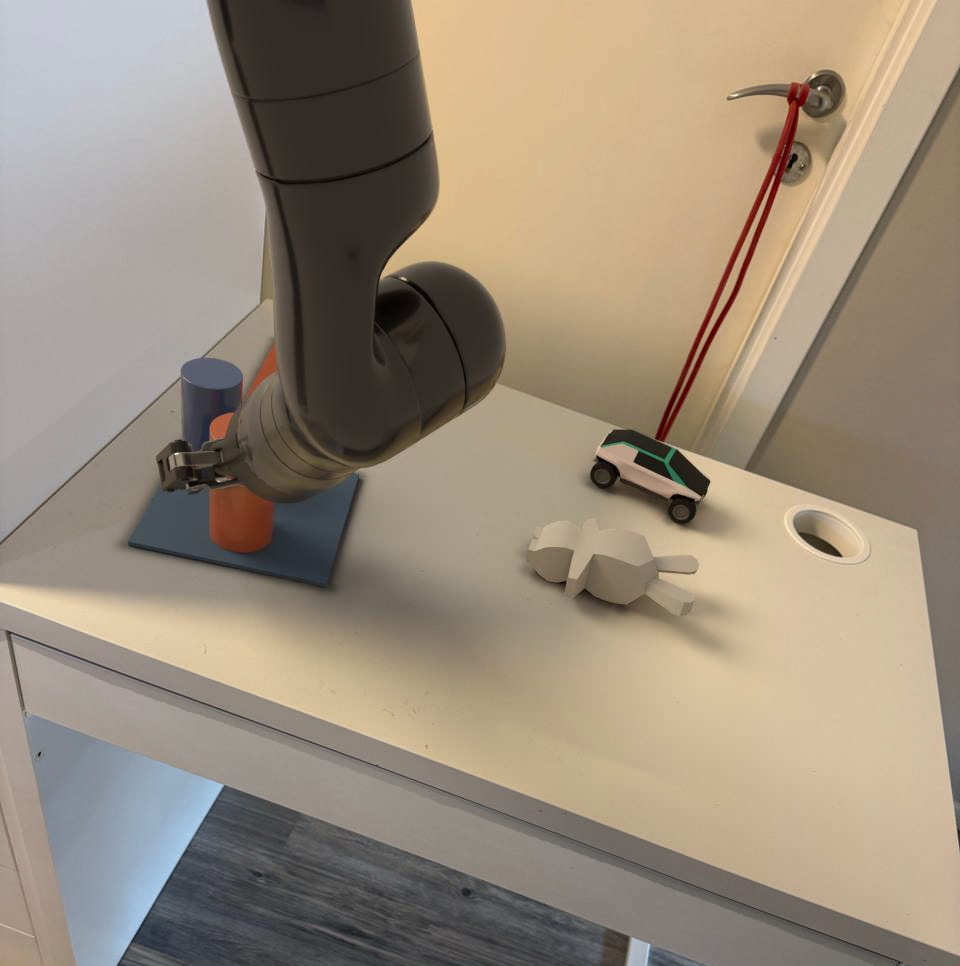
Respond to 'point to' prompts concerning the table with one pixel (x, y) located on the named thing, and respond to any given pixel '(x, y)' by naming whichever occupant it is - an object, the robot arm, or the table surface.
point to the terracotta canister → (238, 510)
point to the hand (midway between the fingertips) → (244, 476)
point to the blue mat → (291, 553)
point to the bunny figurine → (608, 564)
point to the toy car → (650, 471)
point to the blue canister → (207, 397)
